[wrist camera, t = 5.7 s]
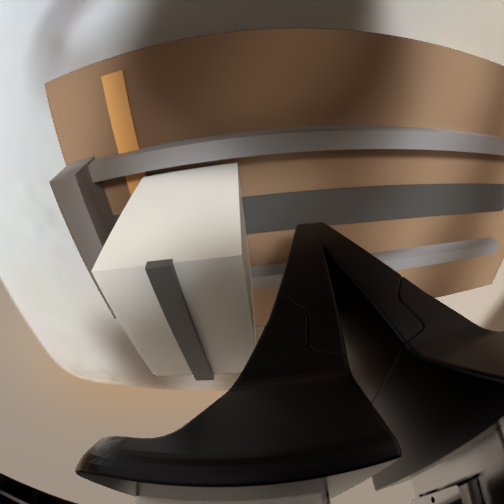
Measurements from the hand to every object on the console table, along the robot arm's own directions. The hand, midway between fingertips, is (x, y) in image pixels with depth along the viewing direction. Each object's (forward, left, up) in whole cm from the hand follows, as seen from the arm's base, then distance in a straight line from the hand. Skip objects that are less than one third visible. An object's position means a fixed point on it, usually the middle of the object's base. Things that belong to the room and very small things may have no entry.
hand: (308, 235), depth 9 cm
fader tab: (+3, 0, -1) cm, 4 cm away
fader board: (-2, 0, -3) cm, 4 cm away
